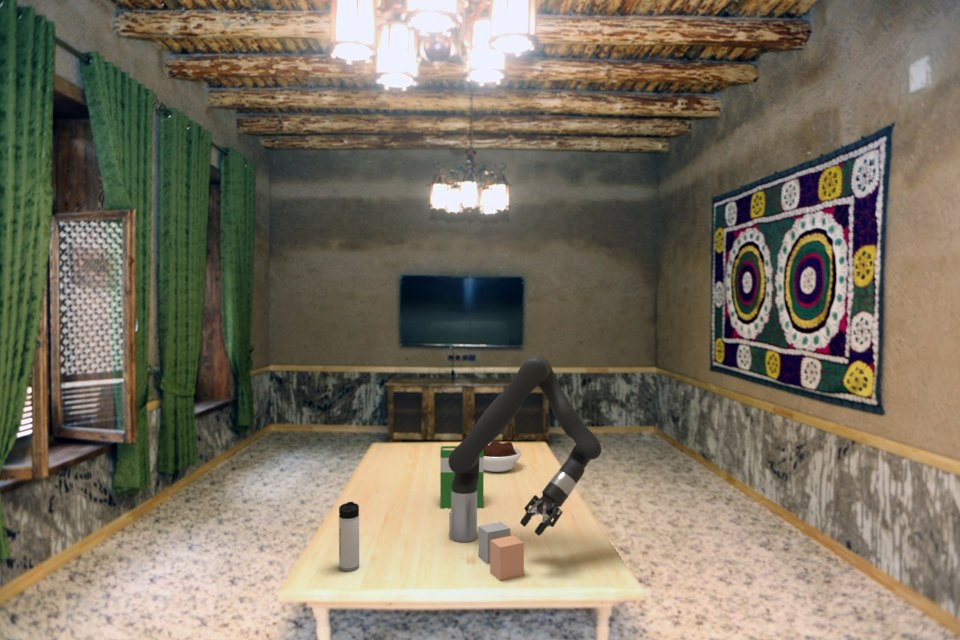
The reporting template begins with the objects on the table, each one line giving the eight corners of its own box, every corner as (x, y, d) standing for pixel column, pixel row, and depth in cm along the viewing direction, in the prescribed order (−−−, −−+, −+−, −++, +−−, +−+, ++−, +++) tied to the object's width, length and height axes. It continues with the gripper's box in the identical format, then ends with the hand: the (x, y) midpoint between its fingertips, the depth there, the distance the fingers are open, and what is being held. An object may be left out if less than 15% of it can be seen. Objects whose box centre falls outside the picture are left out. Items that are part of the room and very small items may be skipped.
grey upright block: (487, 563, 193) (487, 532, 192) (478, 556, 198) (478, 526, 198) (510, 558, 197) (510, 528, 196) (500, 551, 202) (500, 521, 202)
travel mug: (360, 562, 194) (360, 501, 193) (357, 571, 187) (357, 508, 186) (341, 562, 193) (341, 501, 193) (337, 571, 187) (337, 508, 186)
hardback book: (482, 502, 253) (482, 446, 252) (483, 508, 245) (483, 450, 245) (440, 502, 252) (441, 446, 251) (440, 508, 245) (440, 450, 244)
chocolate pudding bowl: (463, 466, 308) (463, 437, 308) (506, 461, 319) (506, 432, 318) (484, 479, 286) (484, 448, 285) (530, 473, 296) (530, 442, 296)
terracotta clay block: (500, 580, 181) (500, 547, 181) (490, 572, 187) (490, 540, 187) (523, 574, 185) (523, 542, 185) (513, 566, 191) (513, 535, 190)
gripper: (540, 475, 199) (510, 515, 194) (565, 487, 187) (534, 530, 182) (553, 489, 202) (524, 528, 197) (579, 501, 189) (548, 544, 184)
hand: (529, 529), depth 189 cm, fingers open, 8 cm apart
